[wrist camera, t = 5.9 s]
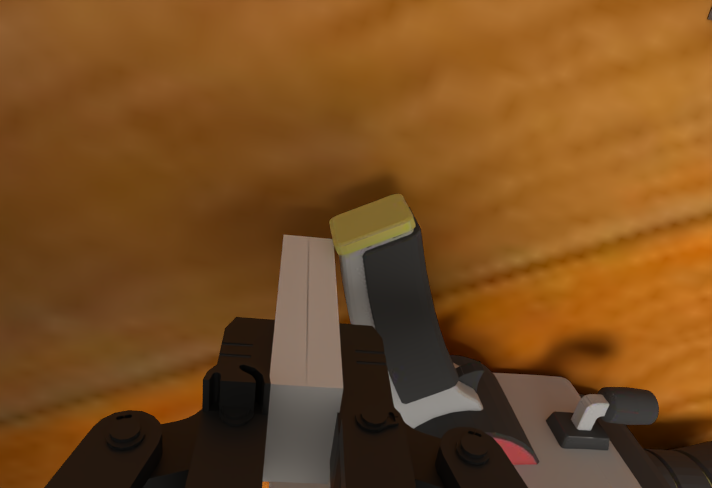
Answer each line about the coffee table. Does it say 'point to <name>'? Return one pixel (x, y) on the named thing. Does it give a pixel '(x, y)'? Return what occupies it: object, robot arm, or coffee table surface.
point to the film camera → (492, 376)
